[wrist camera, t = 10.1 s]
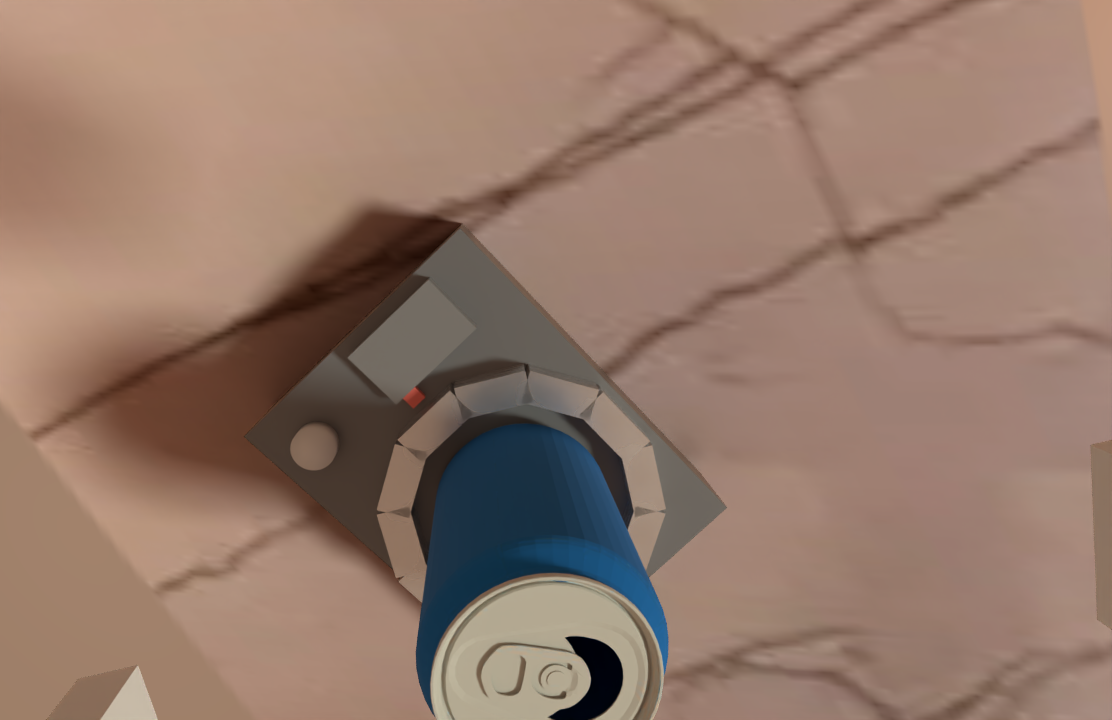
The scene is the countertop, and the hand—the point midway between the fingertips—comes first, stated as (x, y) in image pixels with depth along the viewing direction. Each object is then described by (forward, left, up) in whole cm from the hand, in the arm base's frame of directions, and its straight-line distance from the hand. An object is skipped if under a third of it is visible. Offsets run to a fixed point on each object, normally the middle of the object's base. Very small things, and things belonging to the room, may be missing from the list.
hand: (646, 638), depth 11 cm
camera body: (+2, -5, -23) cm, 24 cm away
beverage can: (+4, -4, -20) cm, 20 cm away
